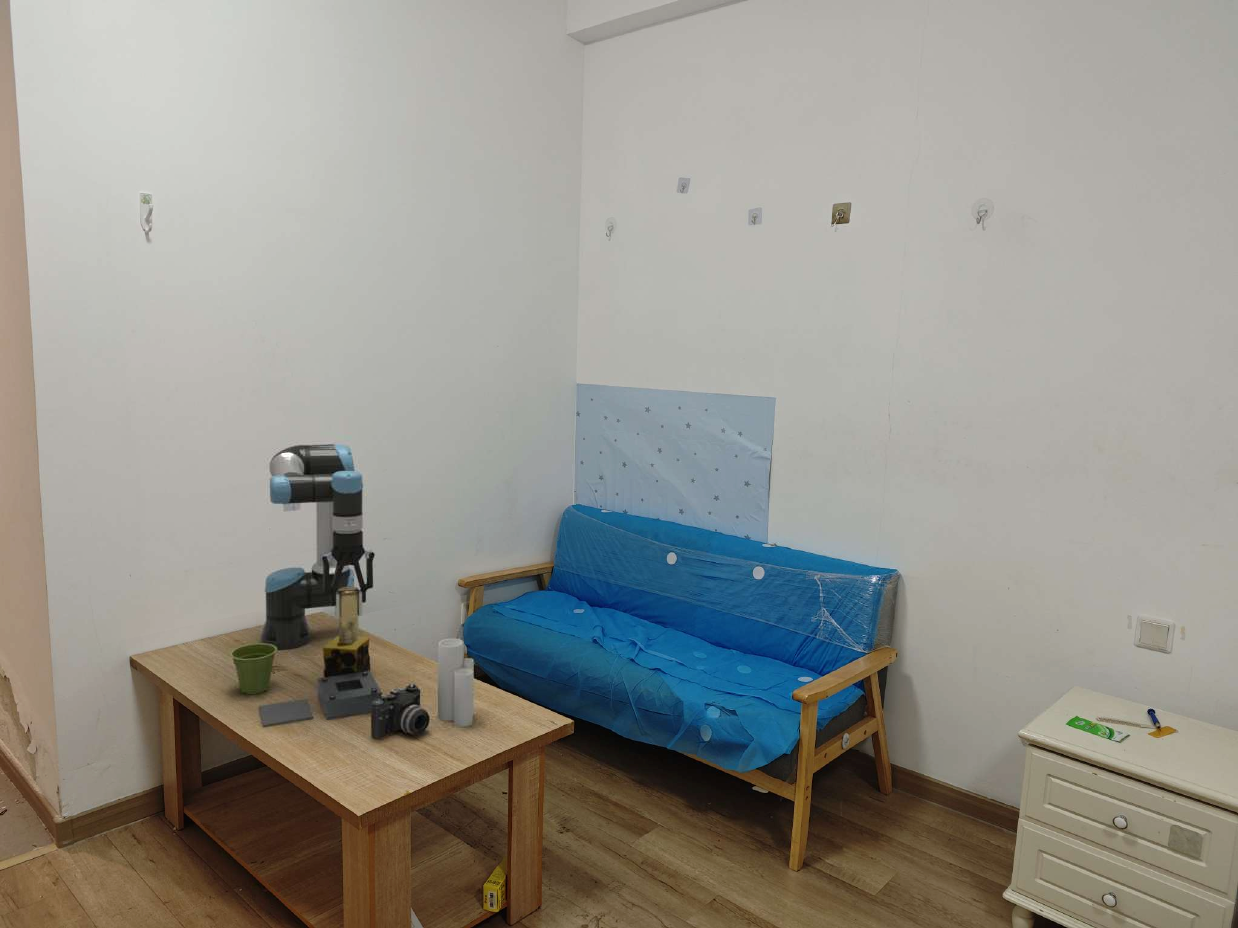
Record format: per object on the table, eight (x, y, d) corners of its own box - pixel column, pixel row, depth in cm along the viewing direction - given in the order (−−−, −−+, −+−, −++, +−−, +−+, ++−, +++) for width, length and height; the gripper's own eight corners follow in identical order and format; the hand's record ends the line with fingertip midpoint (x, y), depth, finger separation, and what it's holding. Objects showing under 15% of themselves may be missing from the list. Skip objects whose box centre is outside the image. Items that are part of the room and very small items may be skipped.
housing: (317, 695, 226) (317, 676, 225) (369, 687, 232) (369, 668, 232) (326, 719, 212) (326, 699, 211) (382, 710, 218) (382, 690, 218)
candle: (371, 669, 245) (370, 637, 244) (357, 682, 236) (356, 649, 234) (338, 667, 246) (337, 635, 245) (322, 680, 236) (322, 647, 235)
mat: (258, 708, 217) (258, 705, 217) (307, 700, 223) (307, 698, 223) (263, 727, 207) (263, 724, 206) (313, 718, 212) (313, 716, 212)
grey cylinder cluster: (432, 716, 216) (432, 643, 213) (451, 707, 222) (451, 636, 219) (464, 728, 210) (465, 653, 207) (483, 718, 216) (484, 645, 213)
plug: (337, 638, 221) (336, 587, 219) (356, 635, 223) (356, 585, 221) (340, 644, 216) (339, 593, 214) (360, 641, 219) (360, 590, 217)
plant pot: (224, 688, 228) (222, 650, 226) (266, 677, 237) (265, 640, 235) (242, 702, 220) (241, 662, 218) (285, 690, 229) (284, 651, 227)
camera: (396, 748, 198) (396, 709, 197) (366, 735, 204) (366, 697, 203) (439, 727, 210) (440, 690, 209) (410, 715, 216) (410, 679, 215)
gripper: (313, 536, 208) (314, 624, 211) (386, 530, 216) (386, 615, 220) (309, 529, 215) (310, 615, 218) (379, 525, 223) (380, 607, 226)
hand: (348, 615), depth 219 cm, fingers closed on plug, 5 cm apart
